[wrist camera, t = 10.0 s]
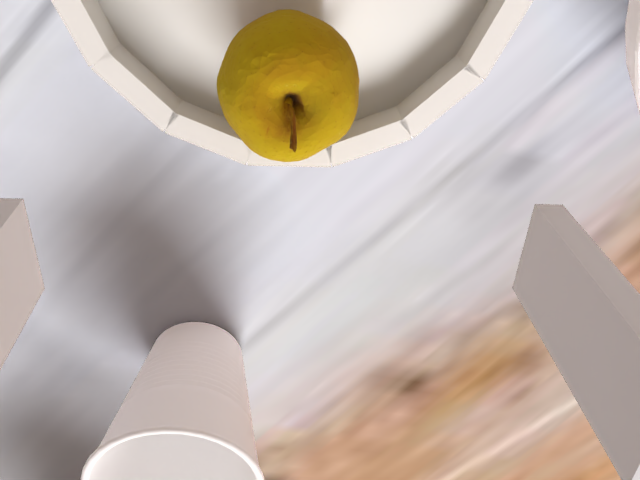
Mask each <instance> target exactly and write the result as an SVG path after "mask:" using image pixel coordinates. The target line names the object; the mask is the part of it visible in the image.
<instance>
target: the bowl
mask: <svg viewBox="0 0 640 480" xmlns="http://www.w3.org/2000/svg"><path fill="white" fill-rule="evenodd" d="M625 43H626V64H627V68H628V72H629V76H630V79H631V83H632V87H633V91H634V95H635V98H636V102H637V106H638V110H639V113H640V0H629V4H628V10H627V17H626V23H625Z"/></svg>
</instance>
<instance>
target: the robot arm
mask: <svg viewBox="0 0 640 480" xmlns="http://www.w3.org/2000/svg"><path fill="white" fill-rule="evenodd" d="M44 289H45V288H44V283H43V279H42V275H41V271H40V267H39V263H38V258H37V254H36V250H35V246H34V242H33V238H32V233H31V229H30V225H29V221H28V217H27V213H26V208H25V204H24V200H23V199H4V198H0V370H1V368H2V366H3V364H4V362H5V360H6V359H7V357H8V355H9V353H10V351H11V349H12V348H13V346H14V344H15V342H16V340H17V338H18V336H19V335H20V333H21V331H22V329H23V327H24V325H25V324H26V322H27V320H28V318H29V316H30V314H31V313H32V311H33V309H34V307H35V305H36V303H37V302H38V300H39V298H40V296H41V294H42V292H43V291H44ZM513 290H514V292H515V294H516V295H517V297H518V299H519V301H520V302H521V304H522V306H523V308H524V309H525V311H526V313H527V315H528V316H529V318H530V320H531V322H532V323H533V325H534V327H535V329H536V330H537V332H538V334H539V336H540V337H541V339H542V341H543V343H544V344H545V346H546V348H547V350H548V351H549V353H550V355H551V357H552V359H553V360H554V362H555V364H556V366H557V367H558V369H559V371H560V373H561V374H562V376H563V378H564V380H565V381H566V383H567V385H568V387H569V388H570V390H571V392H572V394H573V395H574V397H575V399H576V401H577V402H578V404H579V406H580V408H581V409H582V411H583V413H584V415H585V416H586V418H587V420H588V422H589V423H590V425H591V427H592V429H593V430H594V432H595V434H596V436H597V438H598V439H599V441H600V443H601V445H602V446H603V448H604V450H605V452H606V453H607V455H608V457H609V459H610V460H611V462H612V464H613V466H614V467H615V469H616V471H617V473H618V474H619V476H620V478H621V480H640V294H639V293H638V292H637V291H636V289H635V288H634V287H633V286H632V285H631V284H630V282H629V281H628V280H627V279H626V278H625V277H624V275H623V274H622V273H621V272H620V271H619V270H618V268H617V267H616V266H615V265H614V264H613V263H612V262H611V260H610V259H609V258H608V257H607V256H606V255H605V253H604V252H603V251H602V250H601V249H600V248H599V246H598V245H597V244H596V243H595V242H594V241H593V239H592V238H591V237H590V236H589V235H588V234H587V232H586V231H585V230H584V229H583V228H582V227H581V225H580V224H579V223H578V222H577V221H576V220H575V219H574V217H573V216H572V215H571V214H570V213H569V212H568V210H567V209H566V208H565V207H564V206H563V205H550V204H535V205H534V209H533V213H532V217H531V220H530V224H529V228H528V232H527V235H526V239H525V243H524V247H523V250H522V254H521V258H520V261H519V265H518V269H517V273H516V276H515V280H514V284H513Z"/></svg>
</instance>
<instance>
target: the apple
mask: <svg viewBox="0 0 640 480" xmlns="http://www.w3.org/2000/svg"><path fill="white" fill-rule="evenodd" d="M359 81H360V80H359V74H358V67H357V63H356V60H355V57H354V54H353V52H352V50H351V48H350V46H349V44H348V42H347V41H346V40H345V39H344V38H343V37H342V36H341V35H340V34H339V33H338V32H337V31H336V30H335V29H334V28H333V27H332V26H330V25H329V24H327V23H326V22H324V21H322V20H320V19H318V18H316V17H313V16H311V15H308V14H306V13H303V12H301V11H298V10H291V9H284V10H276V11H274V12H271V13H267V14H265V15H263V16H261V17H259V18H258V19H256V20H254V21H252V22H251V23H249V24H248V25H246V26H245V27H244V28H242V29H241V30H240V31H239V32H238V33H237V34H236V36H235V37H234V38H233V39H232V41H231V43H230V44H229V46H228V48H227V51H226V53H225V55H224V59H223V61H222V64H221V66H220V69H219V73H218V76H217V84H216V85H217V94H218V99H219V102H220V106H221V108H222V111H223V114H224V116H225V118H226V120H227V122H228V123H229V125H230V126H231V127H232V129H233V130H234V131H235V132H236V134H237V135H238V136H239V137H240V138H241V140H242V141H243V142H244V144H245V145H246V146H247V147H248V148H249V149H250V150H252V151H253V152H254V153H256V154H258V155H259V156H261V157H264V158H267V159H270V160H275V161H281V162H295V161H301V160H304V159H307V158H309V157H311V156H313V155H315V154H317V153H318V152H320V151H321V150H323V149H325V148H327V147H329V146H331V145H332V144H334V143H336V142H337V141H339V140H340V139H341V138H342V137H343V136H344V135H346V134H347V132H348V131H349V129H350V128H351V126H352V124H353V121H354V119H355V116H356V114H357V109H358V101H359Z"/></svg>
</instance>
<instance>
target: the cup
mask: <svg viewBox="0 0 640 480" xmlns="http://www.w3.org/2000/svg"><path fill="white" fill-rule="evenodd" d="M80 480H264V475H263V473H262V471H261V469H260V467H259V464H258V457H257V451H256V444H255V437H254V431H253V425H252V418H251V412H250V405H249V398H248V391H247V384H246V378H245V369H244V363H243V356H242V351H241V348H240V346H239V343H238V342H237V341H236V339H235V338H234V337H233V336H232V335H231V334H230V333H229V332H227V331H226V330H224V329H222V328H220V327H218V326H215V325H213V324H209V323H204V322H186V323H181V324H177V325H175V326H172V327H170V328H168V329H167V330H165V331H164V332H163V333H162V334H161V335H160V336H159V337H158V338H157V339H156V341H155V343H154V345H153V347H152V349H151V350H150V352H149V354H148V356H147V358H146V360H145V362H144V364H143V366H142V367H141V369H140V371H139V373H138V375H137V377H136V379H135V380H134V382H133V384H132V386H131V388H130V390H129V392H128V393H127V395H126V397H125V399H124V401H123V403H122V405H121V407H120V408H119V410H118V412H117V414H116V416H115V417H114V419H113V421H112V423H111V425H110V427H109V429H108V430H107V432H106V434H105V436H104V438H103V440H102V442H101V443H100V445H99V447H98V448H97V449H96V450H95V451H94V452H93V453H92V454H91V455H90V456H89V457H88V459H87V461H86V463H85V465H84V467H83V469H82V474H81V479H80Z"/></svg>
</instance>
